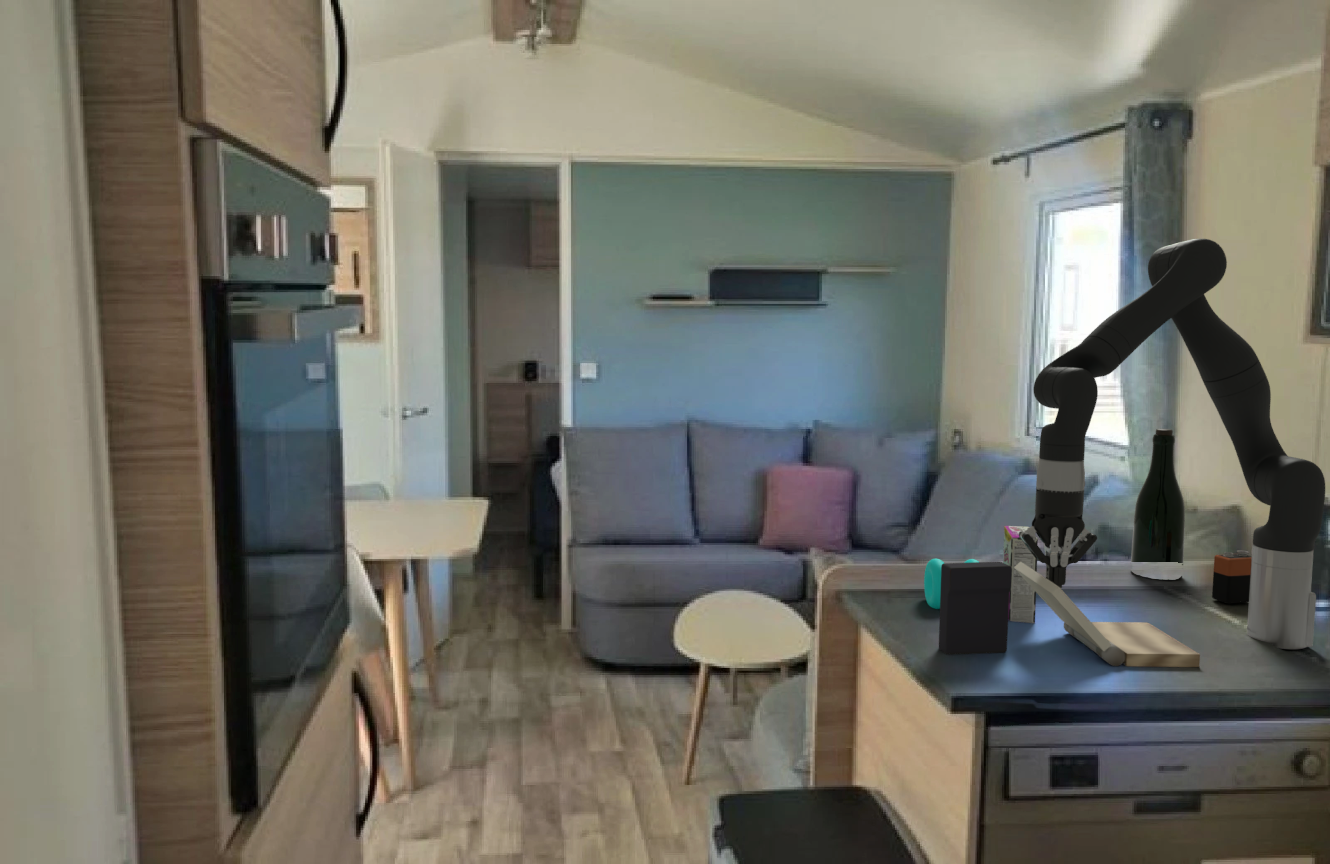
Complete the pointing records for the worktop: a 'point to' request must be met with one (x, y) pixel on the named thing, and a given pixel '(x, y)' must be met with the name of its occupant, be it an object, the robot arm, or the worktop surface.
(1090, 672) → the worktop surface
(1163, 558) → the wine bottle
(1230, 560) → the battery
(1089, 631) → the hinge leaf
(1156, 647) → the fixed leaf
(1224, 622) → the worktop surface
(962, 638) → the calculator
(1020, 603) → the candy bar box
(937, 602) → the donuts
